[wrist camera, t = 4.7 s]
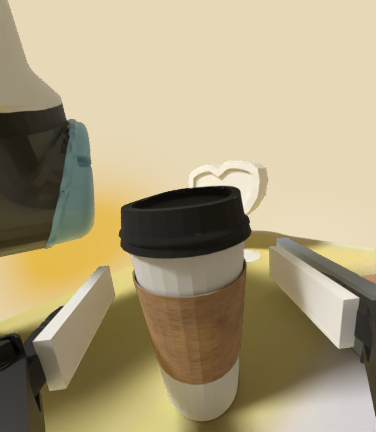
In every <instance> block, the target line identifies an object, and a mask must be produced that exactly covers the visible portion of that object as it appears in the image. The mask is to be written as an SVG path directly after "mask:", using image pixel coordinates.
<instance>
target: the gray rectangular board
mask: <svg viewBox="0 0 376 432" xmlns="http://www.w3.org/2000/svg"><path fill="white" fill-rule="evenodd" d="M276 245H279V246H280V247H282V248H283V249H285V250H287V251H288V252H290V253H291V254H293V255H294V256H296V257H297V258H299V259H300V260H302V261H303V262H305V263H307V264H308V265H310V266H311V267H313V268H314V269H316V270H317V271H319V272H320V273H321V272H324V273H326V274H329V275H331V276H333V277H335V278H337V279H338V280H340V281H341V282H343V283H345V284H346V285H347V286H350V287H351V288H353V289H354V290H356V291H358V292H359V293H361V294H362V295H364V296H366V297H367V298H369V299H370V300H376V284H375V283H373V282H371V281H369V280H367V279H365V278H363V277H361V276H359V275H357V274H356V273H354V272H352V271H350V270H348V269H346V268H344V267H342V266H340V265H338V264H336V263H335V262H333V261H331V260H329V259H327V258H325V257H323V256H321V255H319V254H317V253H316V252H314V251H312V250H310V249H308V248H306V247H304V246H302V245H300V244H298V243H297V242H295V241H293V240H291V239H289V238H287V237H283V238H276ZM362 346H363V343H362V342H361V341H360V340H359V339H358V338H356V337H355V340H354V347H351V348H352V349H353V350H354V351H355V352H356V353H357V354H358V355H359V356H360V357H361V353H362Z"/></svg>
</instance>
